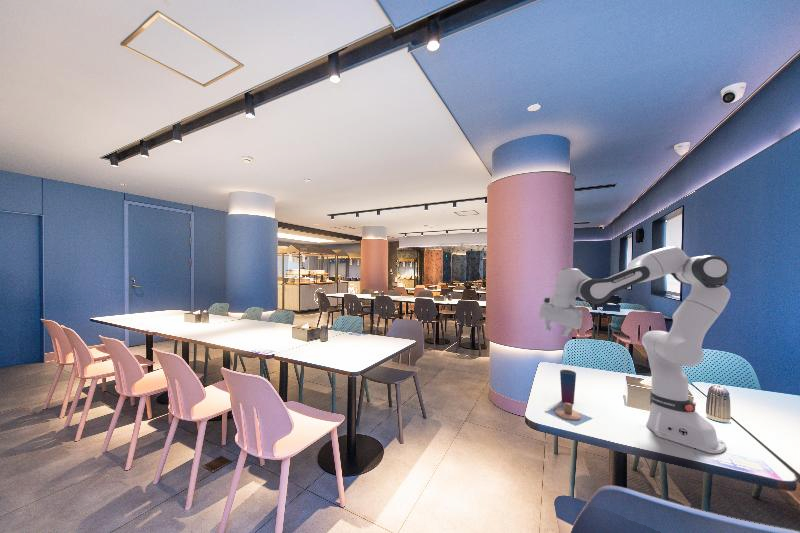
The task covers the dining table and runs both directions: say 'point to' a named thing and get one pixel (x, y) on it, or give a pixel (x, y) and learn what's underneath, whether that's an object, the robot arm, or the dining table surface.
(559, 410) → the lid
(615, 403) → the dining table surface
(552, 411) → the mat
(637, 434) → the dining table surface
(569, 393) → the cup
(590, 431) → the dining table surface
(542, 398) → the dining table surface
